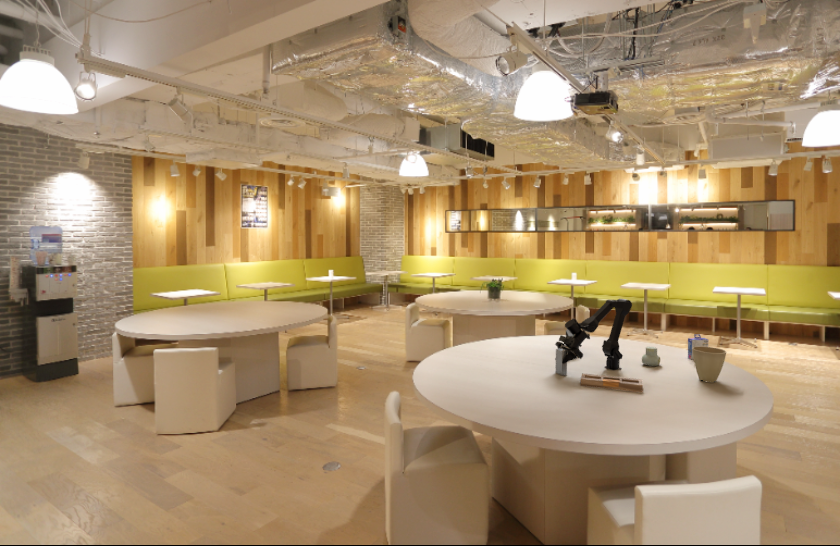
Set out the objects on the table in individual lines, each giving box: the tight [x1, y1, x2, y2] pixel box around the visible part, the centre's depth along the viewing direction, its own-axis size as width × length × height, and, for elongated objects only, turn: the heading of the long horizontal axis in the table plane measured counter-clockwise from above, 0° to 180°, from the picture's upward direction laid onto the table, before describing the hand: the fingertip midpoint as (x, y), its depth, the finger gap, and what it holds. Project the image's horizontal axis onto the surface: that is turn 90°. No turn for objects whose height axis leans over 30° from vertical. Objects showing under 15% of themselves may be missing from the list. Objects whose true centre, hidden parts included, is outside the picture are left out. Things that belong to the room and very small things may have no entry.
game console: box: [565, 329, 580, 353], centre depth 311 cm, size 28×6×15 cm, turn 168°
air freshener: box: [641, 346, 661, 367], centre depth 279 cm, size 11×8×10 cm
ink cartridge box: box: [687, 333, 709, 361], centre depth 292 cm, size 10×6×14 cm, turn 89°
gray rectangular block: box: [555, 348, 568, 376], centre depth 263 cm, size 3×6×13 cm, turn 17°
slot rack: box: [580, 373, 644, 393], centre depth 242 cm, size 10×28×4 cm, turn 67°
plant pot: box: [693, 346, 727, 383], centre depth 250 cm, size 15×15×16 cm
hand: (559, 361), depth 262 cm, fingers closed on gray rectangular block, 6 cm apart
